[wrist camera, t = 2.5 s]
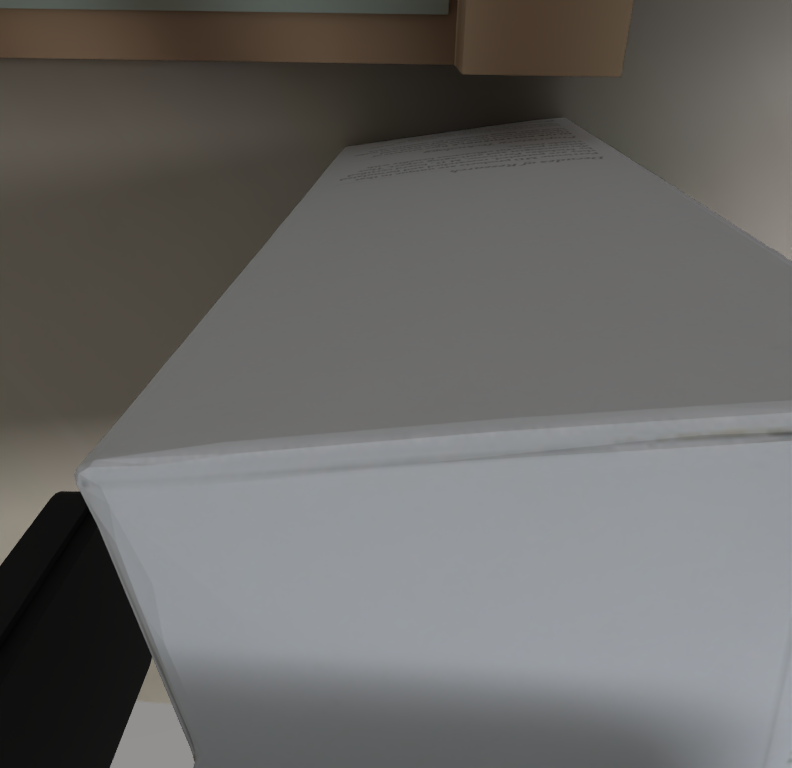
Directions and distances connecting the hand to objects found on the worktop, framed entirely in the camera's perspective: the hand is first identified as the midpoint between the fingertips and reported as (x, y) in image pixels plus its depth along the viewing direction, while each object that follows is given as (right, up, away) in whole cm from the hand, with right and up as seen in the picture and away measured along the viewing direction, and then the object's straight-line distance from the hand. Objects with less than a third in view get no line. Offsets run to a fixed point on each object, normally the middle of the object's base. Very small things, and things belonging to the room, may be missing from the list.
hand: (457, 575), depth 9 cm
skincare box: (+1, +6, +10) cm, 12 cm away
